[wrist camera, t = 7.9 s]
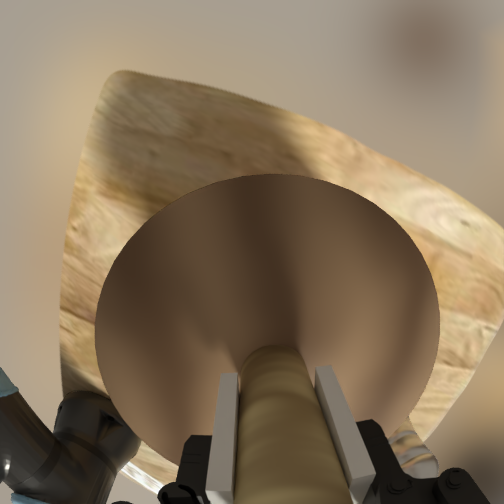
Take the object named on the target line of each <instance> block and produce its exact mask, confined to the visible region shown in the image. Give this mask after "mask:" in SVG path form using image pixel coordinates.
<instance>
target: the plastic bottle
mask: <svg viewBox="0 0 504 504" xmlns="http://www.w3.org/2000/svg"><path fill="white" fill-rule="evenodd" d="M388 441H389V444H390V446H391V448H392V450H393V452H394V454H395V456H396V458H397V460H398V462H399V464H400V466H401V468H402V470H403V471H404V472H405V473H406V474H409V475H410V476H412V477H414V478H421V479H423V478H435V477H437V476H438V471H439V464H438V460H437V459H436V457H435V456H434V455H433V453H432V452H431V451H430V450H429V449H428V448H427V447H426V446H425V444H424V443H423V442H422V440H421V439H420V438H419V437H418V435H417V433H416V432H415V430H414V428H413V426H412V423H411V421H410V419H409V416H408V417H407V418H406V419H405V421H404V422H403V423H402V424H401V425H400V426H399V428H398V429H397V430H396V431H395V432H394V433H393V434H392V435H391V436H390V437H389V438H388Z"/></svg>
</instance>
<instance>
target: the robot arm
mask: <svg viewBox="0 0 504 504" xmlns="http://www.w3.org/2000/svg"><path fill="white" fill-rule="evenodd" d="M314 390H315V392H316V395H317V398H318V401H319V404H320V407H321V410H322V412H323V415H324V418H325V421H326V424H327V427H328V430H329V433H330V435H331V438H332V441H333V444H334V447H335V450H336V453H337V456H338V459H339V462H340V465H341V468H342V471H343V473H344V476H345V479H346V482H347V485H348V488H349V491H350V494H351V497H352V500H353V503H354V504H490V502H489V501H488V500H487V498H486V497H485V495H484V494H483V493H482V491H481V490H480V489H479V487H478V486H477V484H476V483H475V482H474V480H473V479H472V477H471V476H470V475H469V474H468V473H467V472H466V471H465V470H464V469H461V468H450V469H447V470H445V471H444V472H443V473H442V474H441V475H440V476H439V477H435V478H423V479H421V478H414V477H412V476H410V475H409V474H406V473H405V472H404V471H403V470H402V468H401V466H400V464H399V462H398V460H397V458H396V456H395V454H394V452H393V450H392V448H391V446H390V444H389V441H388V439H387V437H385V433H384V431H383V429H382V427H381V426H380V425H379V424H378V423H377V422H375V421H374V420H373V419H369V420H364V421H359V422H355V420H354V418H353V415H352V413H351V410H350V408H349V406H348V403H347V401H346V398H345V396H344V394H343V391H342V389H341V387H340V384H339V382H338V380H337V377H336V375H335V373H334V370H333V368H332V366H331V365H328V366H319V367H315V383H314ZM239 400H240V392H239V383H238V373H221V376H220V383H219V390H218V398H217V405H216V412H215V420H214V427H213V435H191V436H190V437H189V438H188V439H187V441H186V442H185V443H184V447H183V451H182V456H181V460H180V465H179V469H178V474H177V478H176V482H171V483H169V484H167V485H165V486H163V487H162V488H161V489H160V491H159V493H158V496H157V498H158V500H159V501H160V503H161V504H233V502H234V487H235V469H236V451H237V434H238V417H239ZM140 444H141V439H140V438H139V437H138V436H137V435H136V434H135V433H134V432H133V430H132V429H131V428H130V427H129V426H128V424H127V423H126V422H125V421H124V420H123V418H122V417H121V415H120V414H119V412H118V410H117V409H116V407H115V406H114V404H113V403H112V401H110V400H108V399H106V398H104V397H102V396H100V395H97V394H95V393H91V392H87V391H74V392H71V393H69V394H67V395H66V397H65V398H64V399H63V401H62V402H61V403H60V405H59V408H58V413H57V417H56V421H55V426H54V431H53V433H52V432H51V431H50V430H49V429H48V428H47V427H46V426H45V425H44V423H43V422H42V421H41V420H40V419H39V417H38V416H37V415H36V414H35V412H34V411H33V410H32V409H31V407H30V406H29V405H28V404H27V402H26V401H25V400H24V398H23V397H22V395H21V394H20V393H19V389H18V388H17V387H16V386H14V384H13V383H12V382H11V381H10V379H9V378H8V377H7V375H6V374H5V372H4V371H3V370H2V368H1V367H0V483H1V482H2V481H3V482H5V483H6V484H7V485H8V486H9V487H10V488H11V489H12V490H13V491H14V493H12V494H11V496H12V497H11V501H12V503H13V504H106V502H107V499H108V496H109V494H110V491H111V488H112V486H113V483H114V480H115V478H116V475H117V473H118V472H119V471H120V470H121V469H122V468H123V467H124V466H125V465H126V464H127V463H128V462H129V461H130V459H131V458H133V457H134V456H135V455H136V454H137V452H138V449H139V447H140ZM112 504H132V503H130V502H127V501H126V502H125V501H118V502H114V503H112Z"/></svg>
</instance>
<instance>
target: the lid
mask: <svg viewBox="0 0 504 504" xmlns="http://www.w3.org/2000/svg"><path fill="white" fill-rule="evenodd" d="M439 336H440V312H439V304H438V298H437V292H436V289H435V285H434V282H433V279H432V276H431V273H430V271H429V268H428V266H427V264H426V262H425V260H424V258H423V256H422V254H421V252H420V251H419V249H418V248H417V246H416V245H415V243H414V242H413V240H412V239H411V238H410V236H409V235H408V234H407V233H406V232H405V230H404V229H403V228H402V227H401V226H400V225H399V224H398V223H397V222H396V221H395V220H394V219H393V218H392V217H391V216H390V215H388V214H387V213H386V212H385V211H383V210H382V209H381V208H379V207H378V206H377V205H376V204H374V203H373V202H371V201H369V200H367V199H366V198H364V197H362V196H360V195H358V194H357V193H355V192H353V191H351V190H348V189H346V188H343V187H341V186H338V185H335V184H332V183H330V182H327V181H323V180H318V179H314V178H309V177H304V176H298V175H283V174H264V175H252V176H242V177H238V178H233V179H229V180H225V181H221V182H216V183H214V184H211V185H208V186H206V187H203V188H201V189H198V190H196V191H193V192H191V193H188V194H187V195H185V196H183V197H181V198H180V199H178V200H176V201H174V202H173V203H171V204H169V205H168V206H166V207H165V208H163V209H162V210H161V211H159V212H158V213H157V214H156V215H154V216H153V217H152V218H151V219H149V220H148V221H147V222H146V223H145V224H144V225H143V226H142V227H141V228H140V229H139V230H138V231H137V232H136V233H135V234H134V235H133V236H132V237H131V238H130V240H129V241H128V242H127V243H126V245H125V246H124V248H123V249H122V251H121V252H120V253H119V255H118V256H117V258H116V259H115V261H114V263H113V265H112V267H111V269H110V271H109V273H108V275H107V277H106V280H105V282H104V285H103V288H102V291H101V294H100V298H99V301H98V306H97V313H96V320H95V349H96V355H97V361H98V366H99V370H100V373H101V376H102V379H103V383H104V385H105V388H106V390H107V392H108V394H109V396H110V398H111V400H112V403H113V404H114V406H115V407H116V409H117V410H118V412H119V414H120V415H121V417H122V418H123V420H124V421H125V422H126V423H127V424H128V426H129V427H130V428H131V429H132V430H133V432H134V433H135V434H136V435H137V436H138V437H139V438H140V439H141V440H143V441H144V442H145V443H146V444H147V445H148V446H149V447H150V448H152V449H153V450H154V451H156V452H157V453H158V454H160V455H161V456H162V457H164V458H165V459H167V460H169V461H171V462H172V463H174V464H176V465H178V466H179V465H180V460H181V456H182V451H183V447H184V443H185V442H186V441H187V439H188V438H189V437H190V436H191V435H213V427H214V420H215V412H216V405H217V398H218V390H219V383H220V376H221V373H238V383H239V392H240V400H239V417H238V434H237V451H236V469H235V487H234V502H233V504H354V503H353V500H352V497H351V494H350V491H349V488H348V485H347V482H346V479H345V476H344V473H343V471H342V468H341V465H340V462H339V459H338V456H337V453H336V450H335V447H334V444H333V441H332V438H331V435H330V433H329V430H328V427H327V424H326V421H325V418H324V415H323V412H322V410H321V407H320V404H319V401H318V398H317V395H316V392H315V390H314V383H315V367H319V366H328V365H331V366H332V368H333V370H334V373H335V375H336V377H337V380H338V382H339V384H340V387H341V389H342V391H343V394H344V396H345V398H346V401H347V403H348V406H349V408H350V410H351V413H352V415H353V418H354V420H355V422H359V421H364V420H369V419H373V420H374V421H375V422H377V423H378V424H379V425H380V426H381V427H382V429H383V431H384V433H385V437H387V439H388V438H389V437H390V436H391V435H392V434H393V433H394V432H395V431H396V430H397V429H398V428H399V426H400V425H401V424H402V423H403V422H404V421H405V419H406V418H407V417H408V415H409V414H410V413H411V411H412V410H413V409H414V407H415V406H416V404H417V402H418V401H419V399H420V397H421V395H422V393H423V392H424V390H425V388H426V385H427V383H428V380H429V378H430V376H431V373H432V370H433V367H434V363H435V359H436V356H437V351H438V344H439Z"/></svg>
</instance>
